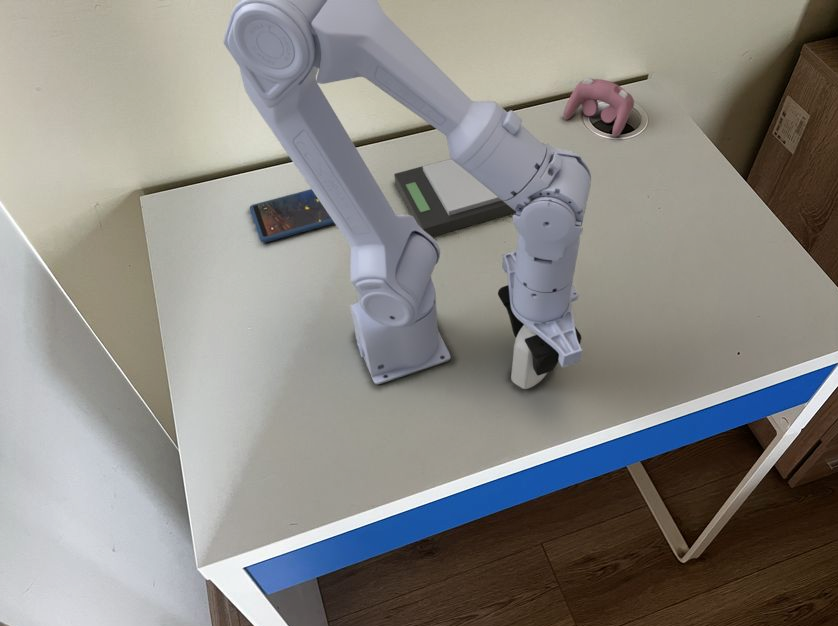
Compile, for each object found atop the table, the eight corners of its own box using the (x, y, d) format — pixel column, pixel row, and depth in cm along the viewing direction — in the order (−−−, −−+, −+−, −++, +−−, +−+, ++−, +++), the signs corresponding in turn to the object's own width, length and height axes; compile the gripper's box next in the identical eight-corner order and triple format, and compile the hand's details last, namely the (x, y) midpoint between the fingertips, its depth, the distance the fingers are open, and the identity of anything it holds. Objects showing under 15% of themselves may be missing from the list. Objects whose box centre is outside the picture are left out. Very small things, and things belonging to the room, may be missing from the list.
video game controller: (625, 136, 110) (641, 91, 107) (617, 139, 106) (633, 92, 103) (569, 116, 113) (583, 71, 110) (559, 118, 109) (573, 72, 106)
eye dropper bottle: (561, 378, 82) (574, 313, 72) (517, 393, 80) (523, 329, 71) (544, 350, 84) (555, 283, 74) (501, 364, 83) (506, 298, 73)
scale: (424, 239, 95) (423, 224, 93) (395, 184, 101) (393, 169, 99) (518, 211, 98) (519, 196, 96) (484, 160, 104) (484, 144, 102)
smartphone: (248, 204, 98) (352, 177, 101) (249, 209, 98) (352, 181, 101) (260, 241, 93) (368, 211, 97) (261, 245, 94) (368, 215, 97)
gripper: (618, 312, 65) (596, 391, 76) (548, 211, 73) (537, 296, 84) (549, 335, 63) (537, 412, 74) (485, 230, 71) (483, 314, 82)
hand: (533, 352), depth 79 cm, fingers open, 5 cm apart
